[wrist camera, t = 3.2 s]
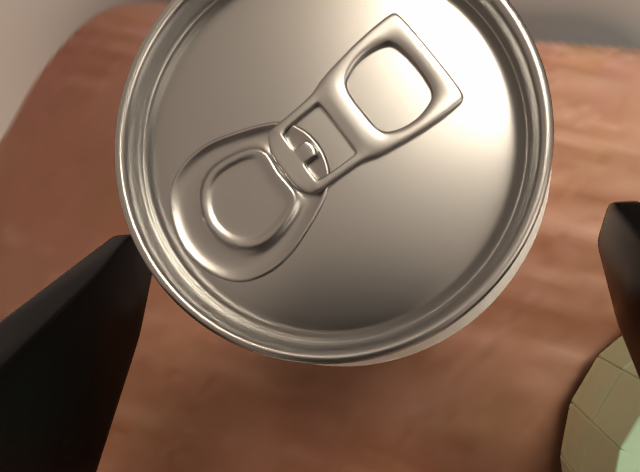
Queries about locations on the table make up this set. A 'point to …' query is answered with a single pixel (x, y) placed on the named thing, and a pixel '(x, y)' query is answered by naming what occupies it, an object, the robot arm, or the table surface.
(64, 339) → the robot arm
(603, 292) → the table surface
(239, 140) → the can
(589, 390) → the bowl
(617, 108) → the table surface
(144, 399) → the table surface
